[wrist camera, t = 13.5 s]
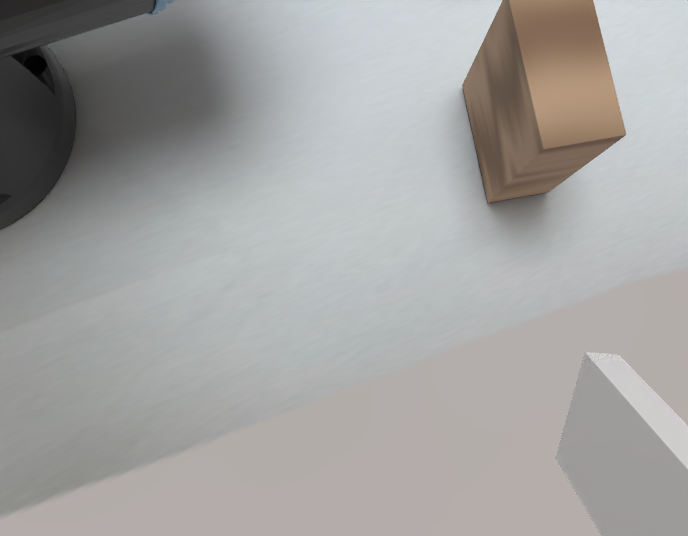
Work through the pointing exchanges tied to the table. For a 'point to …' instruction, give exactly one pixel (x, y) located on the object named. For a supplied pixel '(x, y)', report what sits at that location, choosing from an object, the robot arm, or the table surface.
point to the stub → (540, 96)
